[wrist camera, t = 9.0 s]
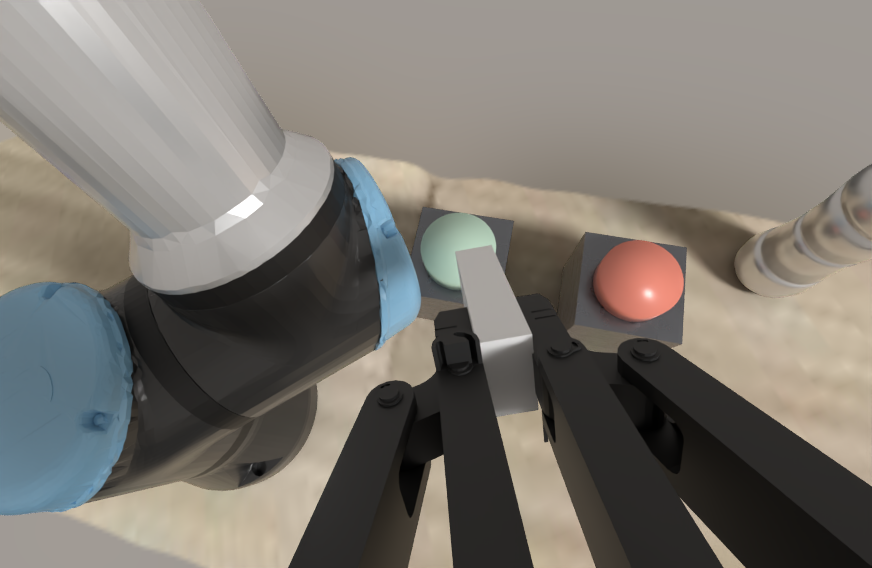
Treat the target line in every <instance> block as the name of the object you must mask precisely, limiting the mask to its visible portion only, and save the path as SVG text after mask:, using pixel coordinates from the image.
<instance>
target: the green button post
mask: <svg viewBox="0 0 872 568" xmlns="http://www.w3.org/2000/svg"><path fill="white" fill-rule="evenodd" d="M451 213H459V212H453V211H446V210H440V209H433V208H427V207H423V208H422V213H421V217H420V221H419V225H418V229H417V233H416V237H415V242H414V246H413V250H412V254H411V260H412V263H413V266H414V269H415V272H416V275H417V279H418V282H419V287H420V293H421V306H420V310H419V313H418V315H417V317H419V318H424V319H430V320H435V318H436V316H437V315H438V313H439V312H441V311H447V310H453V309H458V308H464V303H463V297H462V291H461V290H451V289H447V288H445V287H442V286H440V285H439V284H437V283H436V282H435V281H434V280H433V279H432V278H431V277H430V276H429V274H428V273H427V271H426V269H425V266H424V263H423V260H422V256H421V241H422V237H423V235H424V233H425V231H426V230H427V228H428V227H429V226H430V225H431V224H432V223H433V222H434V221H435V220H437V219H438V218H440V217H442V216H444V215H447V214H451ZM471 215H472V214H471ZM474 216H476V217H478V218H480V219H481V220H483V221H484V222H485V223H486V224H487V225H488V226H489V227H490V229H491V230H492V232H493V234H494V237H495V241H496V256H497V258H498V261H499V263H500V265H501V267H502V269H503V271H504V274H505V269H506V263H507V257H508V252H509V246H510V240H511V234H512V228H513V223H514V221H511V220H505V219H498V218H492V217H485V216H479V215H474Z"/></svg>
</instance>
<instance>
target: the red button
mask: <svg viewBox="0 0 872 568" xmlns="http://www.w3.org/2000/svg"><path fill="white" fill-rule="evenodd" d="M683 286H684V279H683V273H682V270H681V268H680V266H679V264H678V262H677V261H676V259H675V258H674V257H673V256H672V255H671V254H670V253H669V252H668V251H667V250H666V249H664V248H662V247H661V246H659V245H657V244H655V243H652V242H648V241H642V240H633V241H627V242H624V243H621V244H619V245H617V246H615V247H614V248H613V249H611V250H610V251H609V252H608V253H607V255H606V256H605V257H604V258H603V259H602V261H601V262H600V263H599V265H598V266H597V268H596V270H595V273H594V277H593V288H594V292H595V295H596V297H597V299H598V301H599V302H600V304H601V306H600V307H604V309H605V310H607V311H608V312H609V313H610V314H612V315H613V316H615V317H617V318H619V319H622V320H625V321H629V322H643V321H648V320H651V319H653V318H655V317H657V316H659V315H661V314H663V313H665V312H666V311H668V310H670V309H671V308H672V307H673V306H674V305H675V304H676V303H677V302H678V300H679V299H680V297H681V295H682V291H683Z"/></svg>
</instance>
